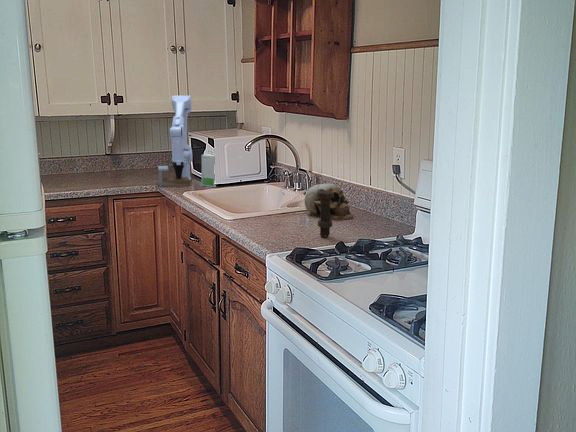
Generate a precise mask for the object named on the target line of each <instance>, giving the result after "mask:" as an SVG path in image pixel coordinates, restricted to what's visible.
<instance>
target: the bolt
mask: <svg viewBox="0 0 576 432" xmlns="http://www.w3.org/2000/svg"><path fill="white" fill-rule="evenodd" d="M317 196H318V197H319V198H320V216H319V220H318V221H317V226H318V227H319V230H320V231H319V234H320V235H319V236H320V237H321V238H322V239H324V238H325V237H326V238H328V237H329V236H330V229H331V228H332V227H333V220H332V219H330V202H331V198H332V197H334V192H332V191H319V192H317Z"/></svg>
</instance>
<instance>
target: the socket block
mask: <svg viewBox="0 0 576 432" xmlns="http://www.w3.org/2000/svg"><path fill="white" fill-rule="evenodd" d="M163 187H170V188H171V187H190V180H189V178H188V177H182V179H177V180H176V176H175V177H162V188H163Z"/></svg>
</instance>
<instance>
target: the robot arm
mask: <svg viewBox="0 0 576 432" xmlns="http://www.w3.org/2000/svg"><path fill="white" fill-rule="evenodd" d="M192 101H193V100H192V96H191V95H190V94H189V95H174V94H173V95H172V96H171V106H172V110H173V112H174V113H175V115H174V116H173V117H172V124H171V127H170V128H169V136H170V142H171V156H172V157H171V162H172V167H173V169H174V173H175V177H176V178H177V179H181V177H188V178H189V181H191V180H192V176H191V165H190V164H191V163H192V162H193V149H192V147H191V146H190V145H189V144H188V114H189V113H191V112H192V105H193V104H192V103H193V102H192Z"/></svg>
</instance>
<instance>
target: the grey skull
mask: <svg viewBox="0 0 576 432" xmlns="http://www.w3.org/2000/svg"><path fill="white" fill-rule="evenodd" d="M319 191H332V192H334V197H332V198H331V202H330V220H339V221H343V220H351V219H353V218H354V216H353V214H352V213H351V211H350V207H349V205H348V204H349V203H350V202H349V200H348V199H346V197H345V195H344V192H343V190H341V189H340V188H339V186H337V185H336V184H334V183H319V184H315V185H313V186H310V187H309V189H307V190H306V192H305V196H304V206H305V209H306V211H308V212H309V214H311V215H312V216H314V217H315V216H316V217H318V216H319V217H320V198H319V197H318V196H317V192H319Z"/></svg>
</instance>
